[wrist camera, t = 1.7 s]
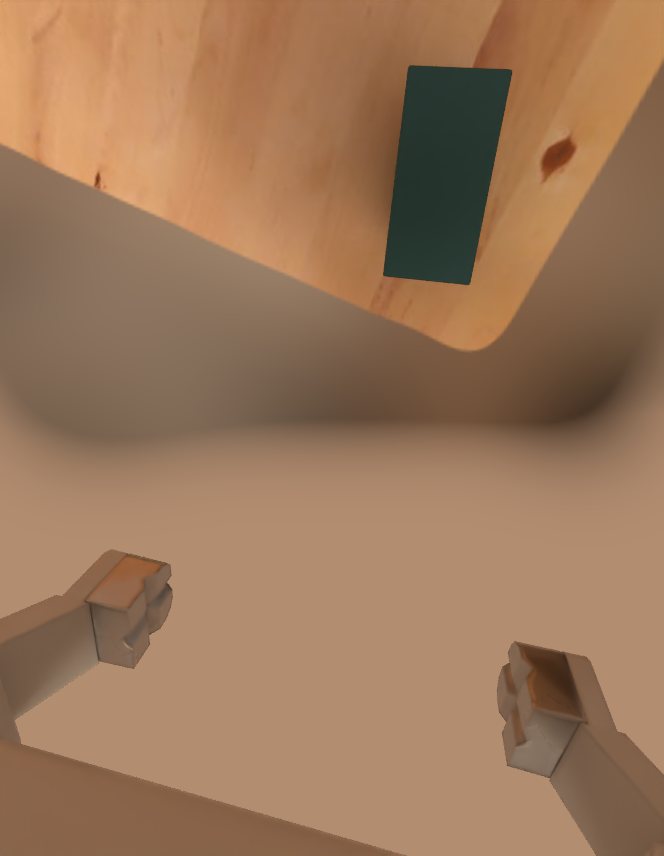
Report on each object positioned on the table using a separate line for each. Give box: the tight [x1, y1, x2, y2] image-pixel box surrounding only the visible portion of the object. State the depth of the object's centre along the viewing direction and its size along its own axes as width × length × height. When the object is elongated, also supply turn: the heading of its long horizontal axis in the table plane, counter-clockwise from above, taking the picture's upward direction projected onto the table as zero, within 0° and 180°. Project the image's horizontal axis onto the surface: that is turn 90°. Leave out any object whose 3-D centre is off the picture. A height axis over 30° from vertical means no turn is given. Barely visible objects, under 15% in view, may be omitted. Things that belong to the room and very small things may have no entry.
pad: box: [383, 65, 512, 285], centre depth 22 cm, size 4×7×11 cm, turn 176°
